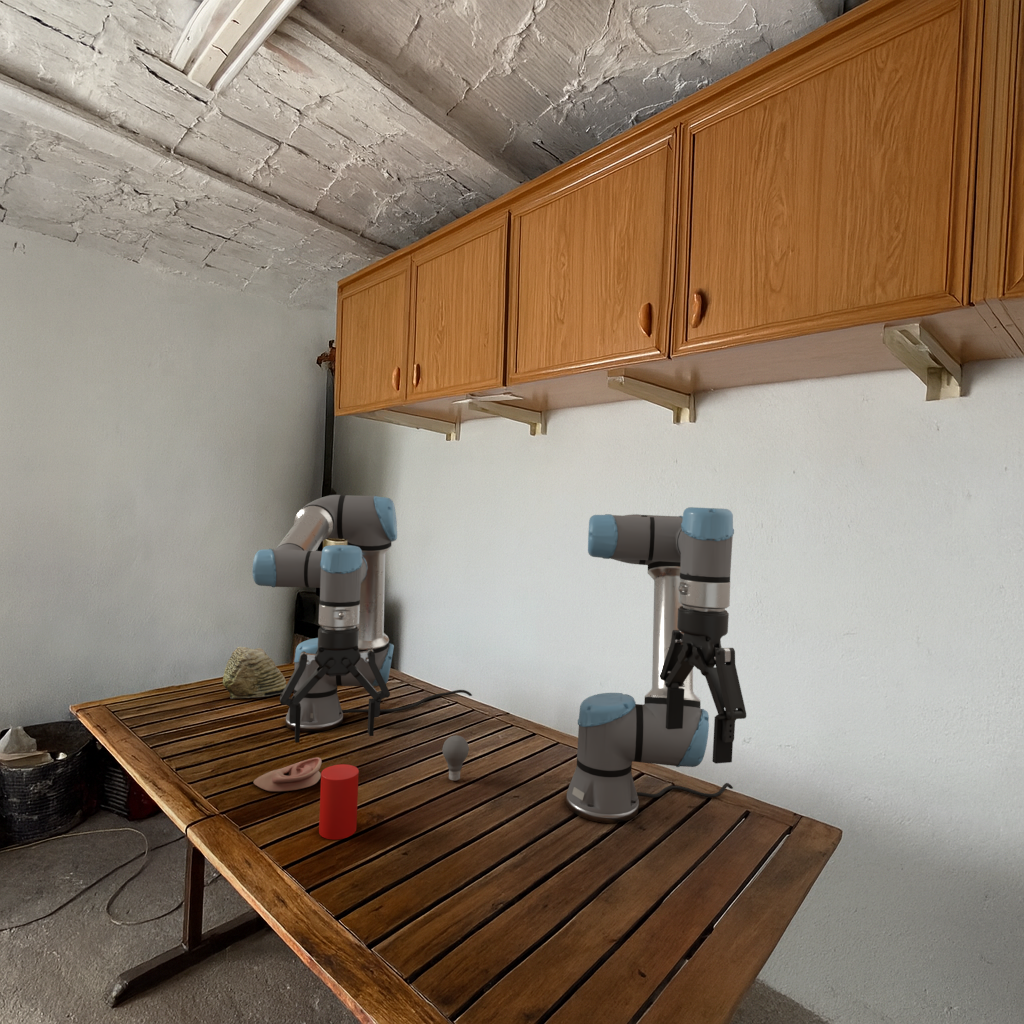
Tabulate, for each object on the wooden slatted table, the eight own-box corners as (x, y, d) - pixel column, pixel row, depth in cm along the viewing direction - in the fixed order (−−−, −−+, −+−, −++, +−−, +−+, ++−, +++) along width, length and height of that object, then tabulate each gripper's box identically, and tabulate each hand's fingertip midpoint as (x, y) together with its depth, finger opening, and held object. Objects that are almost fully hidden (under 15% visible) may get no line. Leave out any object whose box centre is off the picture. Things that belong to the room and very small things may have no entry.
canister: (330, 818, 125) (332, 762, 125) (362, 824, 124) (364, 766, 123) (311, 836, 118) (314, 776, 118) (345, 842, 117) (348, 781, 117)
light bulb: (441, 773, 147) (443, 731, 147) (467, 774, 147) (469, 731, 147) (440, 785, 141) (442, 741, 141) (467, 785, 141) (469, 741, 141)
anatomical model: (245, 769, 136) (276, 749, 147) (245, 787, 136) (275, 766, 147) (302, 777, 133) (328, 756, 144) (301, 796, 133) (328, 773, 144)
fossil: (218, 695, 195) (220, 647, 195) (278, 685, 208) (279, 640, 207) (228, 703, 189) (230, 653, 188) (289, 692, 201) (290, 645, 201)
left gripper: (269, 632, 113) (264, 750, 113) (407, 628, 122) (403, 737, 122) (269, 624, 120) (264, 735, 120) (400, 621, 129) (395, 724, 129)
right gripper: (643, 594, 109) (637, 717, 109) (730, 623, 85) (722, 781, 85) (682, 594, 111) (676, 715, 111) (778, 623, 87) (770, 777, 87)
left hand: (334, 737), depth 121 cm, fingers open, 13 cm apart
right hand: (696, 744), depth 98 cm, fingers open, 13 cm apart
